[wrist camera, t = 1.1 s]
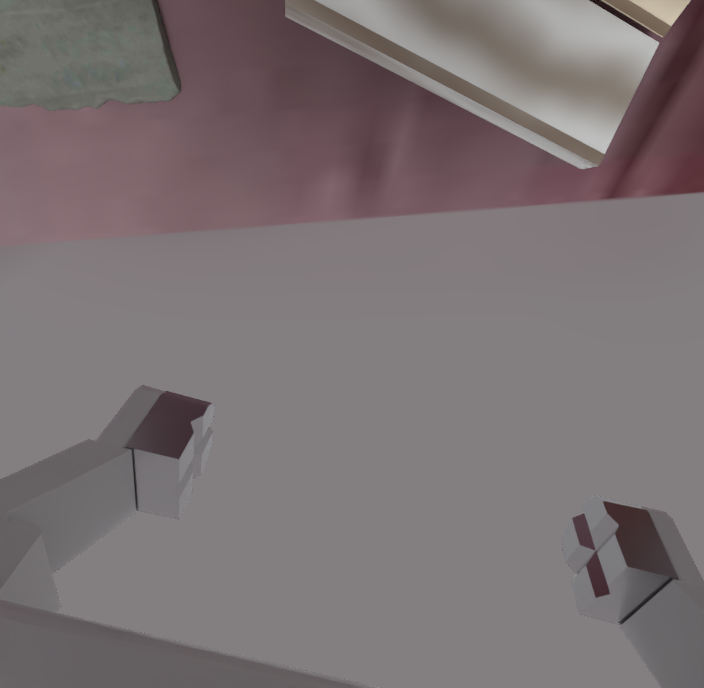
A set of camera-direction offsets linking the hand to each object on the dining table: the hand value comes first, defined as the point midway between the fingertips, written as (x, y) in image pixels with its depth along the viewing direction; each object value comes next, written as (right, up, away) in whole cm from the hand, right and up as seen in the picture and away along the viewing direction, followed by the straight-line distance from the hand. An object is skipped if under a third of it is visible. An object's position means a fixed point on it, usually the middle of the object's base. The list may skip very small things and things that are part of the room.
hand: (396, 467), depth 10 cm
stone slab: (-25, +25, +26) cm, 44 cm away
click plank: (+7, +22, +21) cm, 31 cm away
